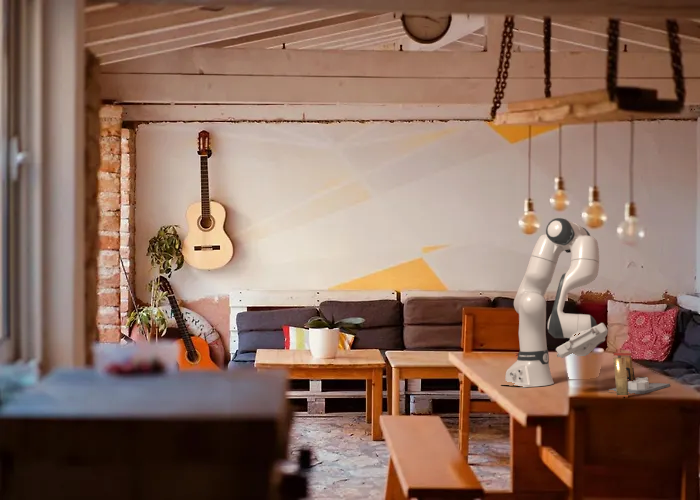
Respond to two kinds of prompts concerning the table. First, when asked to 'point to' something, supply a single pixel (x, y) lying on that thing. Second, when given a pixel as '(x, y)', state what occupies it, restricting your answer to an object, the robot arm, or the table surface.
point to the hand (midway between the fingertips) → (582, 336)
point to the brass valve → (621, 374)
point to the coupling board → (651, 388)
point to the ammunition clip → (628, 365)
